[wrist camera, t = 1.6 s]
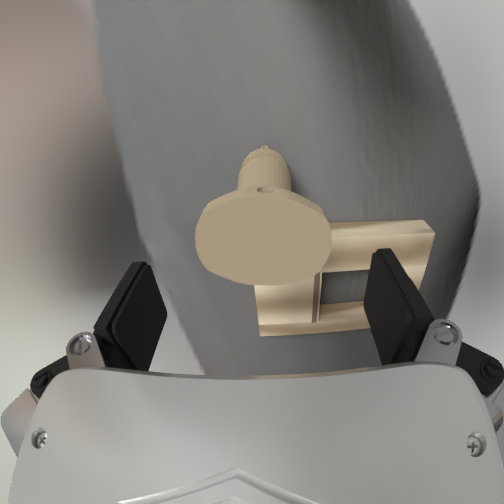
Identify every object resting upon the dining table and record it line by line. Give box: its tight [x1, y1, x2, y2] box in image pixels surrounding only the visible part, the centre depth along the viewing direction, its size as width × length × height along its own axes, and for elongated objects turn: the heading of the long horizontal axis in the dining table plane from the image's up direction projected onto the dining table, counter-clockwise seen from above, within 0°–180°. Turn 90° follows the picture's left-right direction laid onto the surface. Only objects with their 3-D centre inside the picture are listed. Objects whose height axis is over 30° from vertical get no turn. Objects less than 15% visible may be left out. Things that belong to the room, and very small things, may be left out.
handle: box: [195, 145, 332, 286], centre depth 19 cm, size 5×6×15 cm
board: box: [254, 220, 435, 336], centre depth 31 cm, size 14×20×3 cm
